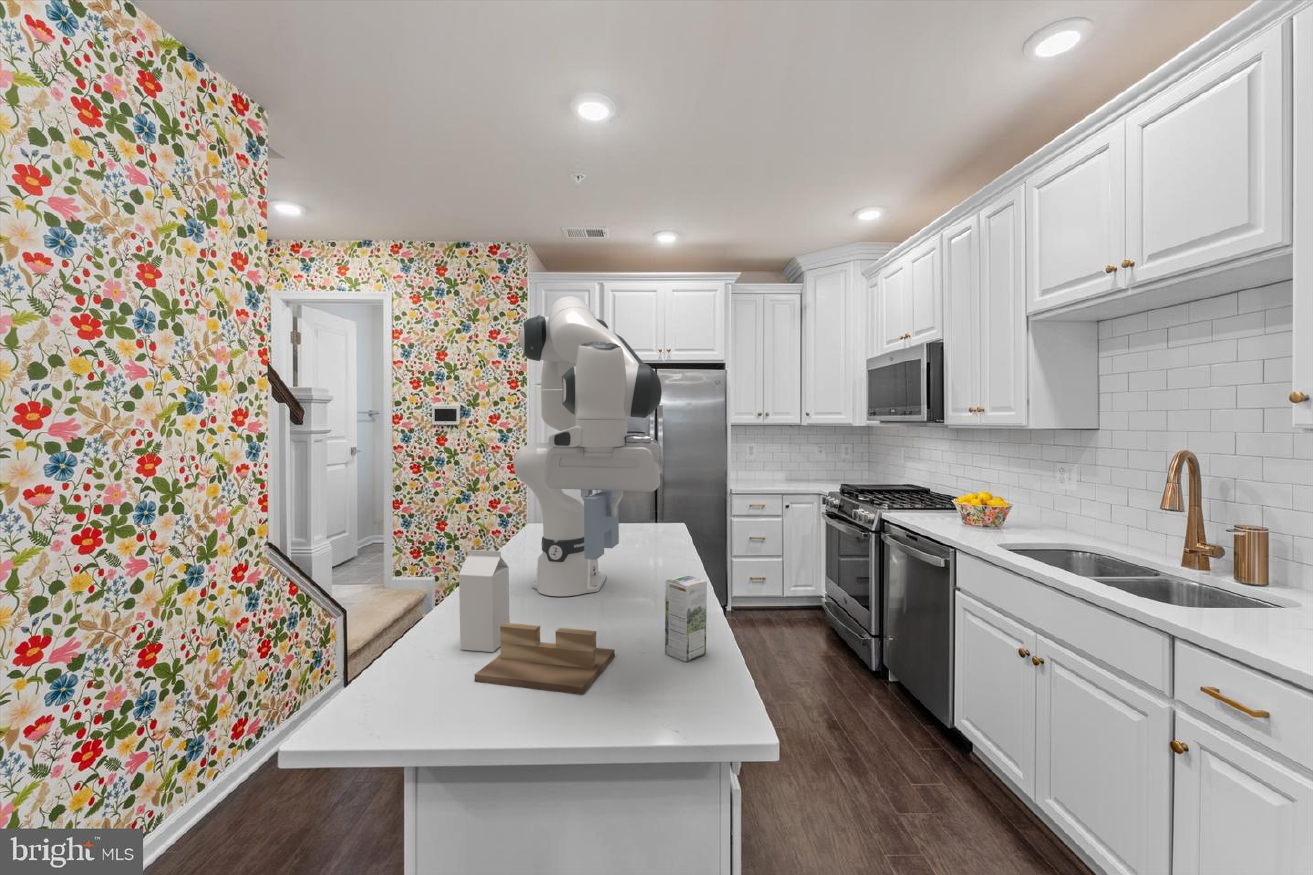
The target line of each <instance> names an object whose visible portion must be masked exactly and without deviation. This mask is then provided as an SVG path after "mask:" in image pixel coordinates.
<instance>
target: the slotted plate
mask: <svg viewBox="0 0 1313 875" xmlns="http://www.w3.org/2000/svg"><path fill="white" fill-rule="evenodd" d="M614 499H615V497H612V491H610V490H600V491H599V492H597V493H593V494H592V495H590V496H589V497H586V498H584V501H583V506H584V554H585V559H591V560H596V559H598V560H599V558H601V557H602V556H604V555H605V549H613V548H614V547H616V546H617V545H619V544H620V523H619V522H620V520H619V518H620V516H619V515H620V514H619V511H620V508H619V504H620V503H619V504H618V505H617V516H615V517H608V516H606V512H607V511H606V507H607V506H609V505H611V504H612V503H613V501H614Z"/></svg>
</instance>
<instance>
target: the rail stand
mask: <svg viewBox="0 0 1313 875" xmlns="http://www.w3.org/2000/svg"><path fill="white" fill-rule="evenodd" d="M615 656H616V651H615V649H612V648H610V649H609V648H602V647H597V630H590V629H588V630H587V629H578V628H567V627H559V628H558V629H556V631H555V642H554V643H553V642H545V641H544V642H543V641H541V626H540V625H534V624H526V623H525V624H523V623H514V622H510V623H505V624H503V625H502V626H500V654H499V655H498V656H497V657H495V658H494V659H493V660H491V661H490V662H489V663H487V664H486V665H485V666H483V667H482V668H481V669H479V670H478V671H477V672H476V673H475V674H474V682H477V683H478V682H479V683H485V684H486V683H487V684H493V685H502V686H509V687H517V688H526V689H535V690H541V691H551V692H558V693H559V692H560V693H567V694H576V695H584V694H585V692H587V690H588V689H589V688H590V686H592V684H593V683H594V682H595V681H596V680H597V678H598V677H599V676H600V675H601V673H602V672H603V671H604V670H605V668H606V667H607V666H608V665H609V664H610V663H611V661H612V660H613V659H614V657H615ZM608 663H609V664H608Z"/></svg>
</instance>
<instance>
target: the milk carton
mask: <svg viewBox="0 0 1313 875" xmlns="http://www.w3.org/2000/svg"><path fill="white" fill-rule="evenodd" d="M509 570H510V568H509V566H508V564H507V563H506V561H505V560H504V559H503V557H502V552H501V550H499V551H497V550H478V549H477V550H475V549H468V550H467V556H466V559H465V561H464V562H463V564H462V566H461V569H460V572H459V573H458V586H459V587H458V588H459V591H458V594H459V596H458V597H459V598H458V599H459V601H458V602H459V642H460V643H459V644H460V646H459V647H460V648H459V650H462V651H471V652H472V651H473V652H474V651H476V652H487V653H488V652H489V653H494V652H495V651H497V650H498V649H499V648H501V646H500V626H502V625H503V624H505V623H511V622H510V578H509V577H510V572H509Z"/></svg>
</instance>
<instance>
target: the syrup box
mask: <svg viewBox="0 0 1313 875" xmlns="http://www.w3.org/2000/svg"><path fill="white" fill-rule="evenodd" d="M707 586H708V581H707V580H705V579H703V578H700V577H698V576H694V575H691V574H690V575H689V574H684V575H681V576H677V577H673V578H669V579H667V580H665V587H664V588H665V591H664V592H665V594H664V595H665V599H664V602H665V605H664V606H665V607H664V608H665V609H664V611H665V613H664V615H665V616H664V619H665V620H664V624H665V625H664V626H665V627H664V630H665V633H664V638H665V639H664V641H665V644H664V653H665V655H668V656H670V657H672V658H675V659H678V660H681V661H683V662H686V663H688V662H689V661H692V660H695V659H697V658H699V657H701V656H704V655H705V654H706V653H707V610H708V609H707V607H708V606H707V604H708V603H707V598H708V597H707V596H708V595H707V592H708V590H707V588H708V587H707Z"/></svg>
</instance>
